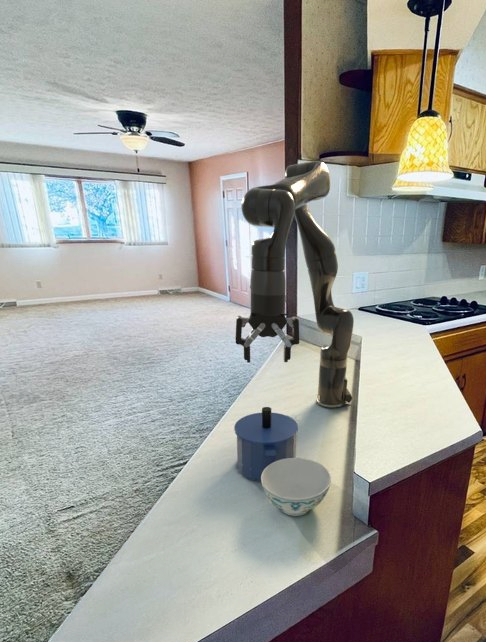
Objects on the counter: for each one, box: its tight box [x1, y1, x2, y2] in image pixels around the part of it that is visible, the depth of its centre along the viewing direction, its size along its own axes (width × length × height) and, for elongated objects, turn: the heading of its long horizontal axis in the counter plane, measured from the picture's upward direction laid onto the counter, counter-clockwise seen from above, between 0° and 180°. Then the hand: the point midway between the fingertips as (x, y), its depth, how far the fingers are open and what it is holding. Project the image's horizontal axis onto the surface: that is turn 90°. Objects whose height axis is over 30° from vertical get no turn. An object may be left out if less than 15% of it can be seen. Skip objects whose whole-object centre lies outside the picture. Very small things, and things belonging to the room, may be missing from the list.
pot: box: [236, 433, 298, 482], centre depth 103 cm, size 15×20×10 cm
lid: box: [233, 406, 299, 444], centre depth 101 cm, size 16×16×6 cm
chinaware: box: [260, 457, 332, 517], centre depth 90 cm, size 15×15×8 cm
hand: (267, 361), depth 95 cm, fingers open, 8 cm apart
